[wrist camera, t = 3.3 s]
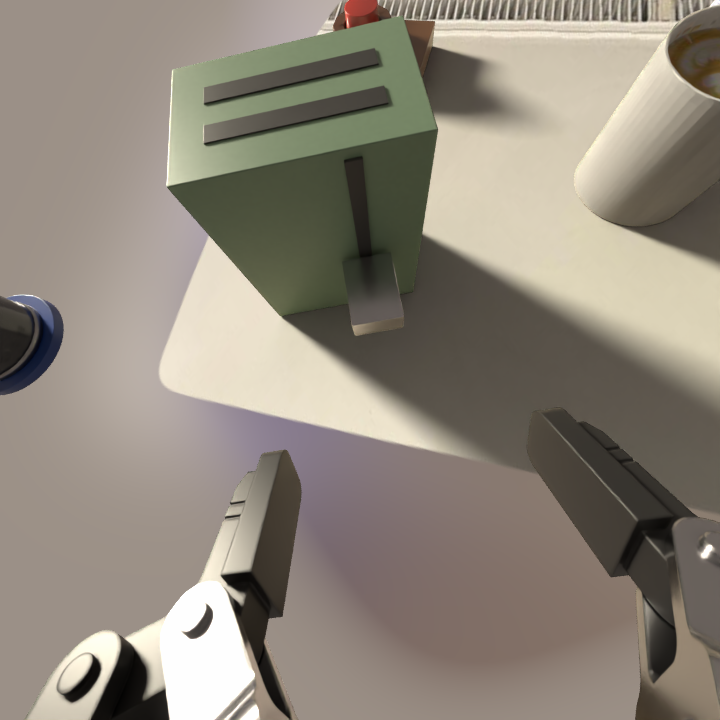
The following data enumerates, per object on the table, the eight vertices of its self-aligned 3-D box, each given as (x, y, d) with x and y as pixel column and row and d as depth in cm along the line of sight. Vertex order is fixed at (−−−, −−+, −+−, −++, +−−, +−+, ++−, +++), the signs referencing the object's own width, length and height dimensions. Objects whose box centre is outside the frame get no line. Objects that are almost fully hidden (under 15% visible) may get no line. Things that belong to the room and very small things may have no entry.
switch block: (328, 90, 36) (320, 48, 32) (348, 40, 38) (343, -5, 34) (416, 98, 34) (419, 54, 30) (432, 45, 36) (437, -2, 32)
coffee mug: (581, 228, 28) (684, 114, 18) (567, 147, 30) (650, 10, 21) (742, 224, 26) (947, 98, 17) (712, 139, 29) (874, -12, 19)
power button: (342, 37, 33) (340, 15, 31) (351, 16, 34) (349, -6, 32) (373, 39, 32) (372, 17, 31) (381, 17, 33) (381, -5, 31)
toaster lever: (355, 336, 21) (351, 325, 19) (345, 276, 22) (341, 260, 21) (403, 327, 21) (404, 316, 19) (390, 267, 22) (390, 251, 20)
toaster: (280, 318, 28) (164, 189, 14) (274, 243, 31) (170, 67, 16) (413, 293, 28) (439, 130, 13) (396, 219, 30) (403, 12, 15)
